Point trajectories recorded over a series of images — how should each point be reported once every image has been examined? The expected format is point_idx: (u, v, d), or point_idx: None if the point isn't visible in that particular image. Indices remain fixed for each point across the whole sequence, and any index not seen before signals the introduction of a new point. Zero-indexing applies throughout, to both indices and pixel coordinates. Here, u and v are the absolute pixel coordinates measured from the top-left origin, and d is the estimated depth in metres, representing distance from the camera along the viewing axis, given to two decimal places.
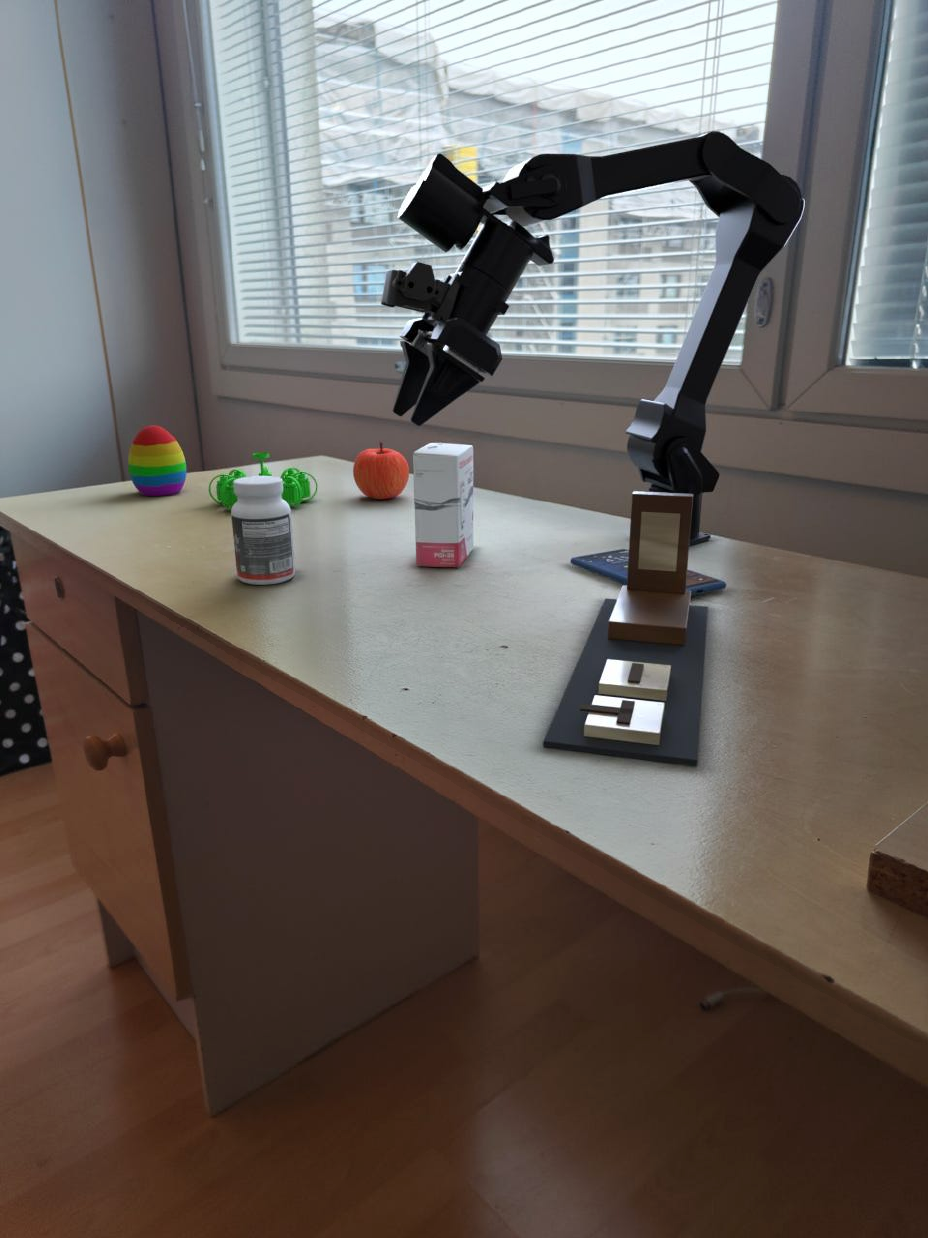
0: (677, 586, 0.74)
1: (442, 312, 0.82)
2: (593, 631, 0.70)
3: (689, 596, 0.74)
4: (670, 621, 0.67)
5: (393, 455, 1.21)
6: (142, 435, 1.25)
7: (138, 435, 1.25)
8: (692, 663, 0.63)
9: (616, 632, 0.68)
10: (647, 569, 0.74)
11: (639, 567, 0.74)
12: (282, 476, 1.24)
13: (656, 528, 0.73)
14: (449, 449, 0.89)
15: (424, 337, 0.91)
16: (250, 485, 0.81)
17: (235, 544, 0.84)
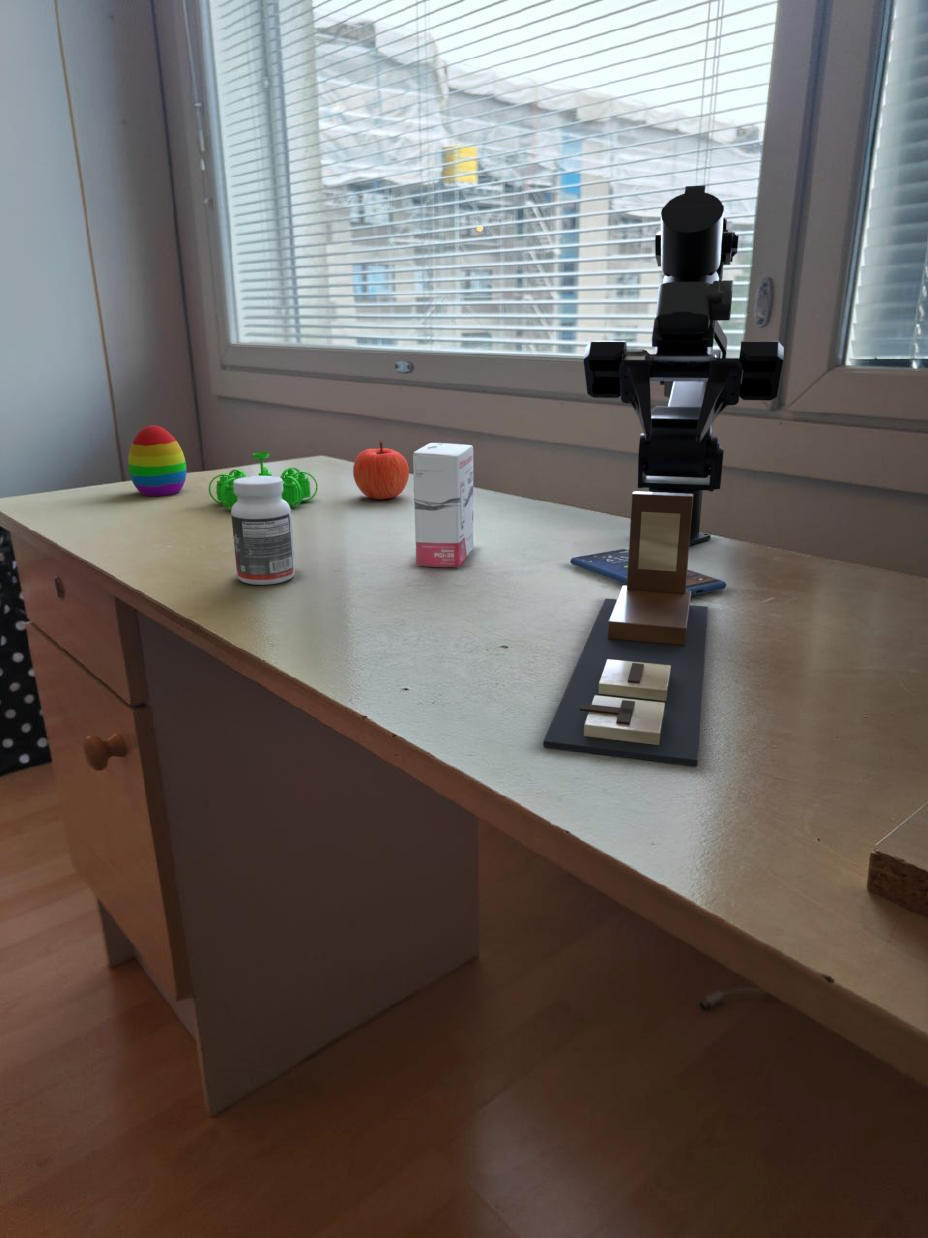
0: (677, 586, 0.74)
1: None
2: (593, 631, 0.70)
3: (689, 596, 0.74)
4: (670, 621, 0.67)
5: (393, 455, 1.21)
6: (142, 435, 1.25)
7: (138, 435, 1.25)
8: (692, 663, 0.63)
9: (616, 632, 0.68)
10: (647, 569, 0.74)
11: (639, 567, 0.74)
12: (282, 476, 1.24)
13: (656, 528, 0.73)
14: (449, 449, 0.89)
15: None
16: (250, 485, 0.81)
17: (235, 544, 0.84)
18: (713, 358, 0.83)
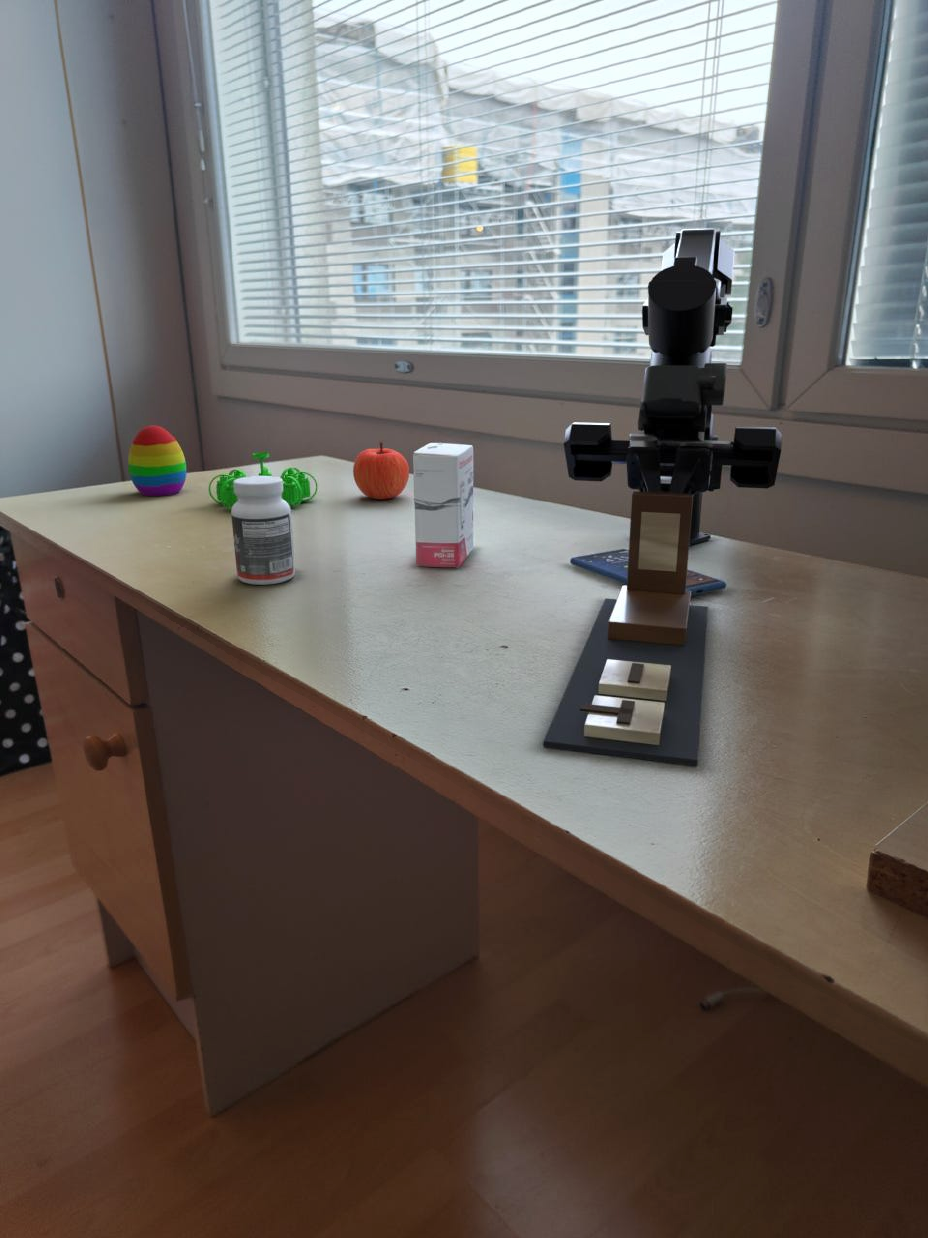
0: (677, 586, 0.74)
1: None
2: (593, 631, 0.70)
3: (689, 596, 0.73)
4: (670, 621, 0.67)
5: (393, 455, 1.21)
6: (142, 435, 1.25)
7: (138, 435, 1.25)
8: (692, 663, 0.63)
9: (616, 632, 0.68)
10: (647, 569, 0.74)
11: (639, 567, 0.74)
12: (282, 476, 1.24)
13: (656, 528, 0.73)
14: (449, 449, 0.89)
15: (657, 446, 0.77)
16: (250, 485, 0.81)
17: (235, 544, 0.84)
18: (705, 444, 0.76)
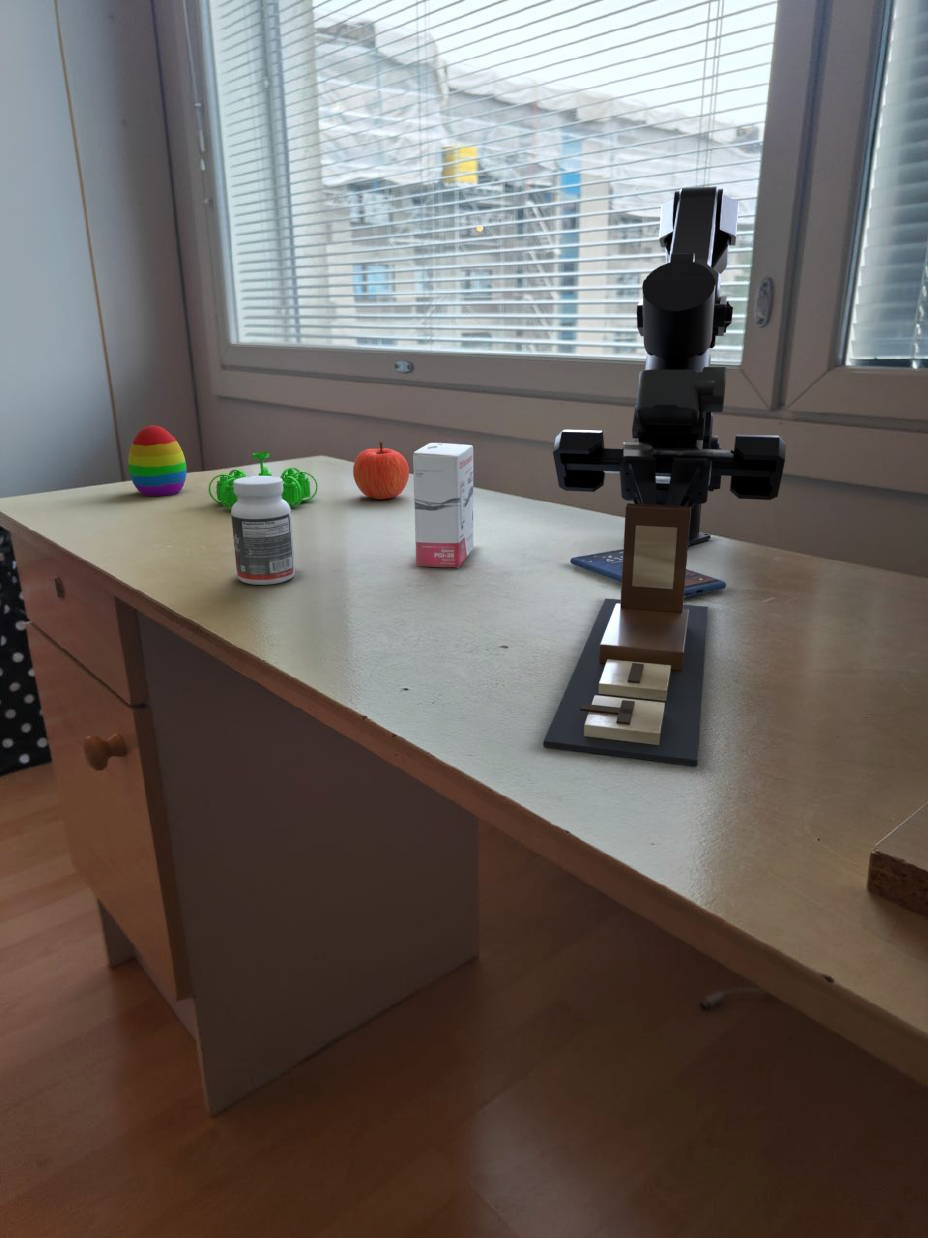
0: (674, 605, 0.69)
1: (704, 426, 0.71)
2: (593, 631, 0.70)
3: (687, 615, 0.69)
4: (666, 644, 0.63)
5: (393, 455, 1.21)
6: (142, 435, 1.25)
7: (138, 435, 1.25)
8: (692, 663, 0.63)
9: (608, 656, 0.63)
10: (642, 586, 0.70)
11: (633, 584, 0.70)
12: (282, 476, 1.24)
13: (651, 543, 0.68)
14: (449, 449, 0.89)
15: (652, 455, 0.72)
16: (250, 485, 0.81)
17: (235, 544, 0.84)
18: (703, 453, 0.71)
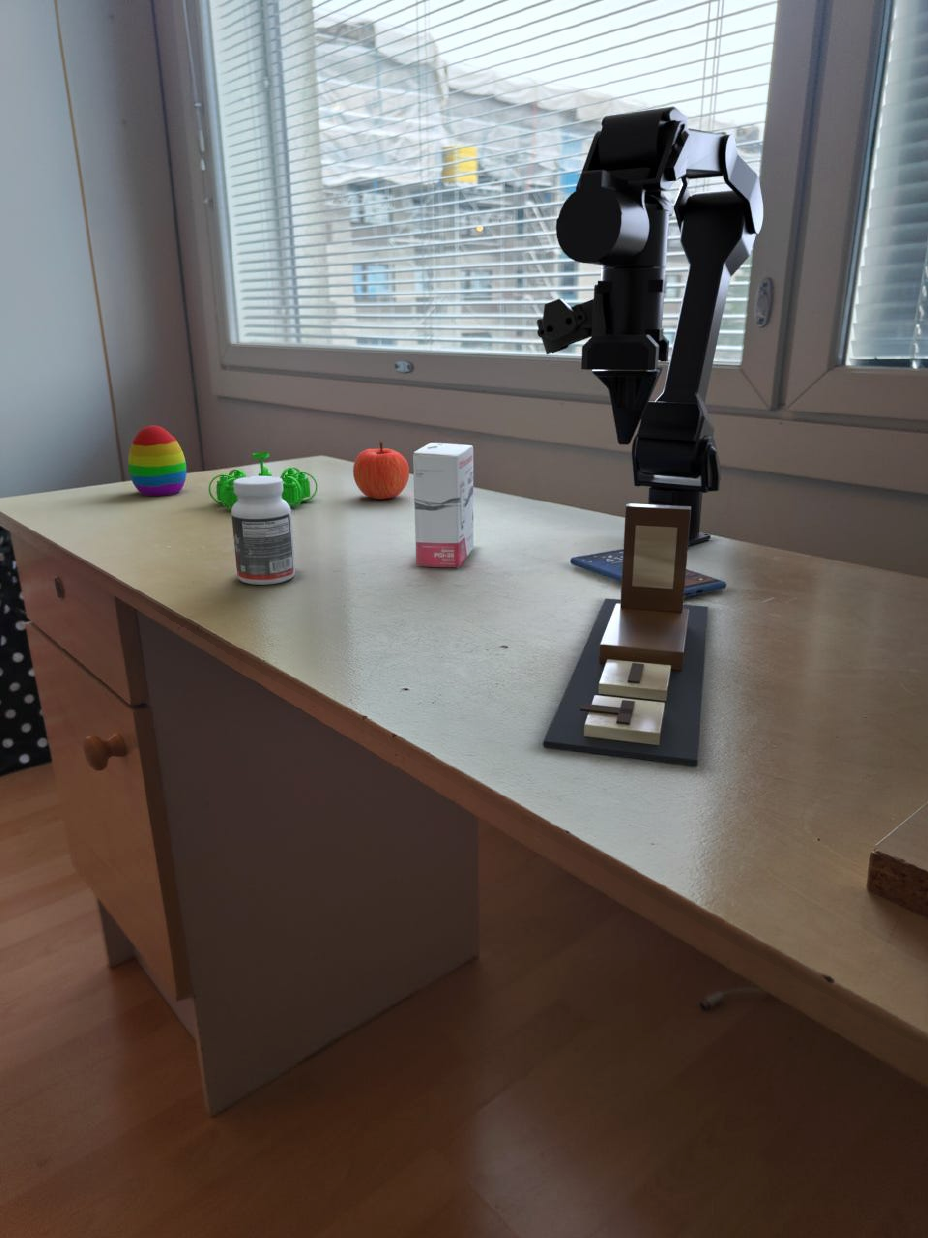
0: (674, 605, 0.69)
1: (597, 330, 0.77)
2: (593, 631, 0.70)
3: (687, 615, 0.69)
4: (666, 644, 0.63)
5: (393, 455, 1.21)
6: (142, 435, 1.25)
7: (138, 435, 1.25)
8: (692, 663, 0.63)
9: (608, 656, 0.63)
10: (642, 586, 0.70)
11: (633, 584, 0.70)
12: (282, 476, 1.24)
13: (651, 543, 0.68)
14: (449, 449, 0.89)
15: None
16: (250, 485, 0.81)
17: (235, 544, 0.84)
18: None
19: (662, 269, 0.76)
